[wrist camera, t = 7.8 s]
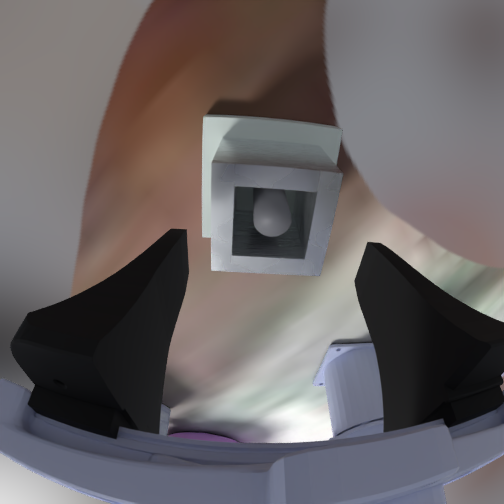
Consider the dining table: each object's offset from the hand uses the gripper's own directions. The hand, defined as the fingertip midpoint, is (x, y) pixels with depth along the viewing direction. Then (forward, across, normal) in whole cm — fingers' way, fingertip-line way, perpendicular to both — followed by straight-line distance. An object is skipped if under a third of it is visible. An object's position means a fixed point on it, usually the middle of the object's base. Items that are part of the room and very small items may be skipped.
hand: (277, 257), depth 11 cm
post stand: (+8, 0, 0) cm, 8 cm away
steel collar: (+7, 0, 0) cm, 7 cm away
